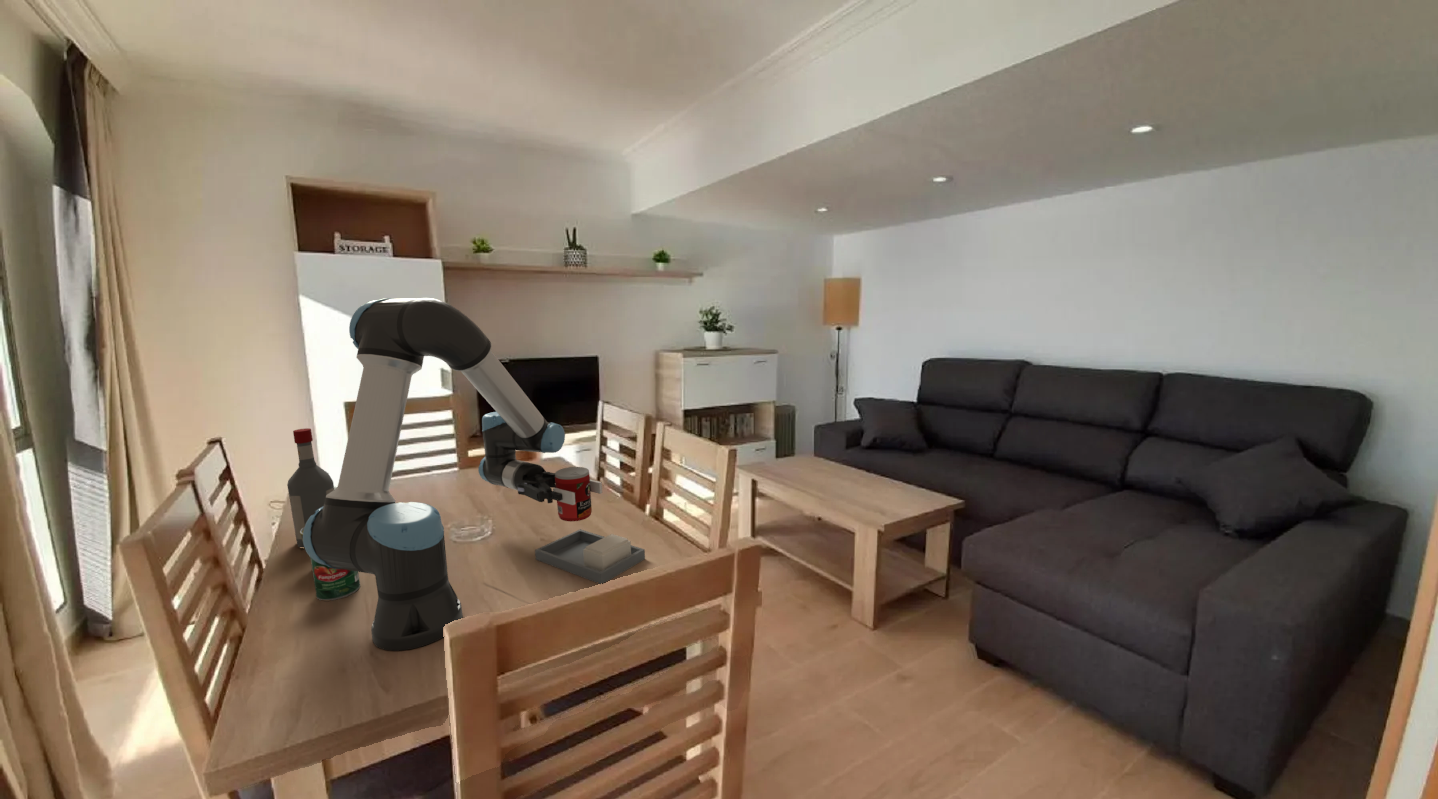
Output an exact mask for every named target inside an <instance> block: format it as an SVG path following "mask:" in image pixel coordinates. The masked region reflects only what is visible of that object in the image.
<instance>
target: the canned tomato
mask: <svg viewBox="0 0 1438 799" xmlns="http://www.w3.org/2000/svg"><path fill="white" fill-rule="evenodd" d="M310 558H311V557H309V559H310ZM310 563H311V569H312V576H313V581H314V589H315V596H316V597H317V598H316V599H317V600H318V599H319V600H318V601H321V600H331V601H336V600H340V599H343V598H345V597H349V596H350V595H353V594H354V593H355V592H357V591H358V590H359V589H360V588H361V582H360V576H359V572H357V571H352V570H346V569H334V568H331V567H328V566H326V565H323V564H320V563H318V562H316V561H314V560H313V559H312V558H311V559H310ZM352 593H353V594H352Z"/></svg>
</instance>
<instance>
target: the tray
mask: <svg viewBox="0 0 1438 799" xmlns="http://www.w3.org/2000/svg"><path fill="white" fill-rule="evenodd" d="M604 537H605V536H602V535H600V534H597V533H594V532H591V531H588V530H584V529H577V530H575V531H573V532H571V533H569V534H566V535H565V536H562V537H561V538H558V539H555V540H554V541H551V542H550V543H547V544H545V545H543V546H541V547H538V548H536V549H534V553H535V554H534V557H535V560H536V561H538V562H541V563H544V564H547V565H548V566H552V567H554V568H557V569H560V570H562V571H565V572H567V573H569V574H570V573H571V574H572V575H575V576H578V577H581V578H583V579H586V580H589V581H591V582H593V583H596V584H599V585H601V583H603V584H605V583H607V582H608V580H609V581H610V580H612V579H613V578H615V577H617V576H619V575H620V574H622V573H624V572H625V571H627V570H629V569H631V568H632V567H634V566H636V565H637V564H639V563H641V562H642V561H644V560H646V555H645V554H646V550H645V548H642V547H638V546H635V545H632V544H631V555H630V556H628V557H626V558H624V559H623V560H621V561H619V562H617V563H615V564H614V565H612V566H610V567H608V568H607V569H605V570H603V571H598V570H595V569H593V568H590V567H587V566H584V553H583V549H585V548H586V546H588V545H590V544H592V543H594V542H596V541H598V540H600V539H602V538H604ZM606 581H607V582H606ZM597 582H598V583H597ZM604 582H605V583H604Z"/></svg>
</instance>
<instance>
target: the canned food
mask: <svg viewBox="0 0 1438 799" xmlns="http://www.w3.org/2000/svg"><path fill="white" fill-rule="evenodd" d="M554 473H555V484H556V488H559V489H562V490H566V491H570V492H574V493H575V505H571V504H567V503H564V502H560V501H556V504H557V516H558V517H559V519H560V520H562V521H564V522H580V521H583V520H586V519H587V518H590V517H591V515H592V512H593V509H592V496H591V495H592V494H591V493H592V492H591V491H590V480H591V478H590V470H589V469H588V468H586V467H583V466H568V467H564V468H563V467H562V468H560V469H558V470H556V471H555V472H554Z"/></svg>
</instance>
